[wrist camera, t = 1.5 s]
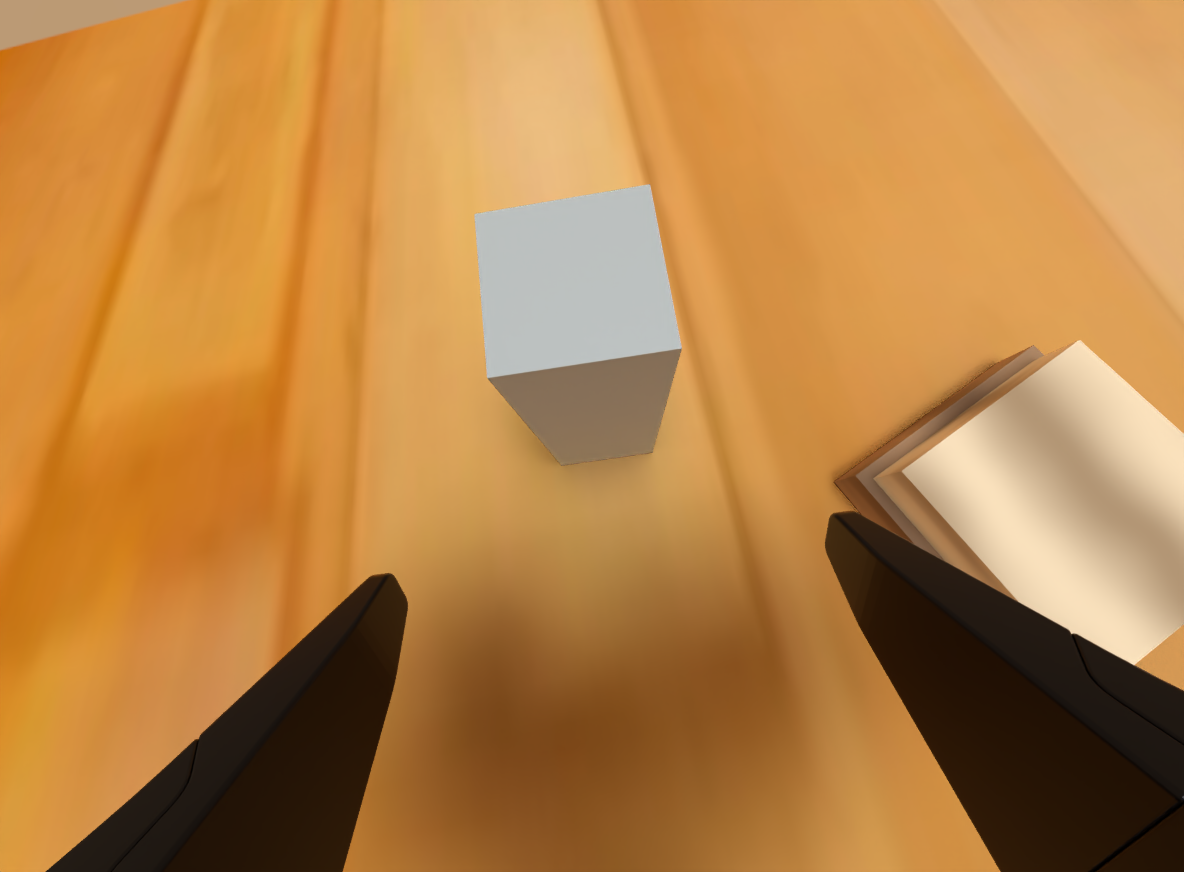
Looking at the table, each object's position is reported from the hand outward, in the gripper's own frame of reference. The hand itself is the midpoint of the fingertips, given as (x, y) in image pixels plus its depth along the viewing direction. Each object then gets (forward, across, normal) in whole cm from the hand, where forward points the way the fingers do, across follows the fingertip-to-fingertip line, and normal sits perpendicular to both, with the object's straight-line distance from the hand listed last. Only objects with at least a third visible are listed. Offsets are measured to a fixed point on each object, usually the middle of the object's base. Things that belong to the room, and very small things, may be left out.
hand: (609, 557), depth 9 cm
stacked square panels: (+8, -17, +9) cm, 21 cm away
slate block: (+13, 0, +4) cm, 14 cm away
